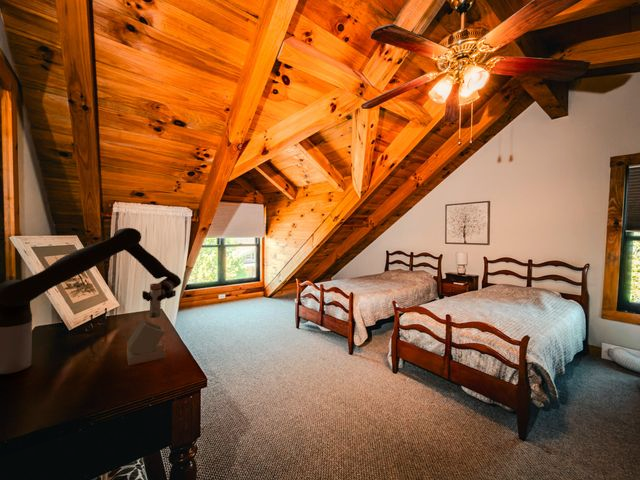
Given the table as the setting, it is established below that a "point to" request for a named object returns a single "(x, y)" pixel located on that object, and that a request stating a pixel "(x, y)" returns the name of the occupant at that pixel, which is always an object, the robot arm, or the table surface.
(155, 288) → the peg
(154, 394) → the table surface
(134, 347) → the socket
